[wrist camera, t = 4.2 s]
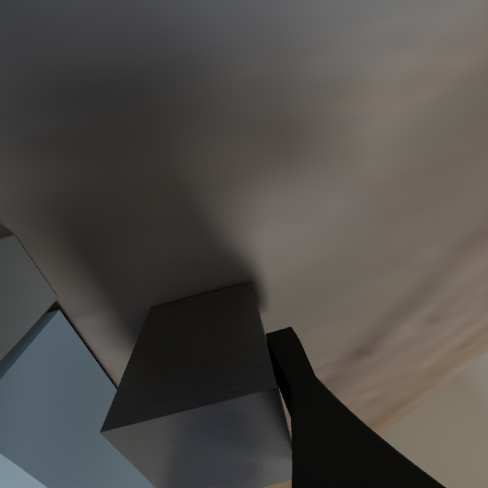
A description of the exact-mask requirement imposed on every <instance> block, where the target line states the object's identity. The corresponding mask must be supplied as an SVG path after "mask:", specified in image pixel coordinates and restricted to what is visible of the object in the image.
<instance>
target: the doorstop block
mask: <svg viewBox="0 0 488 488" xmlns="http://www.w3.org/2000/svg"><path fill="white" fill-rule="evenodd" d="M100 434H101V435H102V436H103V437H105V438H106V439H107V440H108V441H109V442H110V443H111V444H112V445H113V446H114V447H115V448H116V449H117V450H118V451H119V452H120V453H121V454H122V455H123V456H124V457H125V458H126V459H127V460H128V461H129V462H130V463H131V464H132V465H133V466H134V467H135V468H136V469H137V470H138V471H139V472H140V473H141V474H142V475H143V476H144V477H145V478H146V479H147V480H148V481H149V482H150V483H151V484H152V485H154V486H155V487H156V488H261V487H265V486H269V485H273V484H277V483H281V482H285V481H289V480H292V440H291V435H290V431H289V427H288V423H287V419H286V415H285V411H284V407H283V403H282V399H281V395H280V391H279V387H278V384H277V380H276V376H275V372H274V368H273V364H272V360H271V356H270V352H269V348H268V344H267V339H266V335H265V332H264V328H263V324H262V320H261V316H260V312H259V308H258V304H257V301H256V297H255V293H254V289H253V285H252V282H250V283H246V284H242V285H238V286H234V287H230V288H226V289H222V290H218V291H214V292H210V293H206V294H202V295H198V296H194V297H191V298H187V299H183V300H179V301H175V302H171V303H167V304H163V305H159V306H155V307H151V308H150V310H149V313H148V315H147V318H146V320H145V323H144V325H143V328H142V330H141V332H140V335H139V337H138V340H137V342H136V345H135V347H134V350H133V352H132V355H131V357H130V359H129V362H128V364H127V367H126V369H125V372H124V374H123V377H122V379H121V382H120V384H119V386H118V389H117V391H116V394H115V396H114V399H113V401H112V404H111V406H110V409H109V411H108V414H107V416H106V418H105V421H104V423H103V426H102V428H101V431H100Z"/></svg>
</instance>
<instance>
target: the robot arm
mask: <svg viewBox="0 0 488 488" xmlns="http://www.w3.org/2000/svg"><path fill="white" fill-rule="evenodd" d="M266 338H267V344H268V348H269V352H270V356H271V360H272V364H273V368H274V372H275V376H276V380H277V384H278V387H279V389H280V392H281V394H282V397H283V399H284V402H285V404H286V407H287V409H288V412H289V414H290V417H291V432H292V488H446V487H444V486H443V485H442V484H440V483H438V482H437V481H436V480H435V479H433V478H432V477H431V476H429V475H428V474H427V473H425V472H424V471H423V470H421V469H420V468H419V467H417V466H416V465H415V464H414V463H412V462H411V461H410V460H408V459H407V458H406V457H405V456H403V455H402V454H401V453H399V452H398V451H397V450H396V449H395V448H393V447H392V446H391V445H390V444H388V443H387V442H386V441H385V440H384V439H382V438H381V437H380V436H379V435H378V434H376V433H375V432H374V431H373V430H372V429H370V428H369V427H368V426H367V425H366V424H365V423H363V422H362V421H361V420H360V419H359V418H358V417H357V416H356V415H354V414H353V413H352V412H351V411H350V410H349V409H348V408H347V407H346V406H345V405H344V404H343V403H341V402H340V401H339V400H338V399H337V398H336V397H335V396H334V395H333V394H332V393H331V392H330V391H329V390H328V389H327V388H326V387H325V386H324V384H323V383H322V382H321V381H320V380H319V379H318V378H317V377H316V376H315V374H314V371H313V369H312V367H311V365H310V362H309V360H308V358H307V355H306V353H305V351H304V349H303V346H302V344H301V342H300V340H299V338H298V337H297V335H296V333H295V332H294V330H293V329H292V327H288V328H285V329H281V330H279V331H274V332H271V333H267V334H266Z"/></svg>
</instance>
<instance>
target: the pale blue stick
mask: <svg viewBox="0 0 488 488" xmlns="http://www.w3.org/2000/svg"><path fill="white" fill-rule="evenodd" d="M116 391H117V389H116V388H115V387H114V385H113V384H112V382H111V381H110V380H109V378H108V377H107V375H106V374H105V373H104V371H103V370H102V368H101V367H100V366H99V364H98V363H97V361H96V360H95V359H94V357H93V356H92V354H91V353H90V352H89V350H88V349H87V348H86V346H85V345H84V343H83V342H82V341H81V339H80V338H79V336H78V335H77V334H76V332H75V331H74V329H73V328H72V327H71V325H70V324H69V322H68V321H67V320H66V318H65V317H64V315H63V314H62V313H61V311H60V310H56V311H53V312H49V313H45V314H43V315H42V316H41V317H40V319H39V320H38V321H37V322H36V323H35V324H34V325H33V326H32V327H31V328H30V329H29V330H28V332H27V333H26V334H25V335H24V336H23V337H22V338H21V339H20V340H19V341H18V342H17V344H16V345H15V346H14V347H13V348H12V349H11V350H10V351H9V352H8V353H7V354H6V356H5V357H4V358H3V359H2V360H1V361H0V488H153V485H152V484H151V483H150V482H149V481H148V480H147V479H146V478H145V477H144V476H143V475H142V474H141V473H140V472H139V471H138V470H137V469H136V468H135V467H134V466H133V465H132V464H131V463H130V462H129V461H128V460H127V459H126V458H125V457H124V456H123V455H122V454H121V453H120V452H119V451H118V450H117V449H116V448H115V447H114V446H113V445H112V444H111V443H110V442H109V441H108V440H107V439H106V438H105V437H103V436H102V435H101V434H100V431H101V428H102V426H103V423H104V421H105V418H106V416H107V414H108V411H109V409H110V406H111V404H112V401H113V399H114V396H115V394H116Z"/></svg>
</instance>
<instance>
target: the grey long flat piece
mask: <svg viewBox="0 0 488 488" xmlns="http://www.w3.org/2000/svg"><path fill="white" fill-rule="evenodd" d="M57 299H58V297H57V295H56V294H55V293H54V291H53V290H52V288H51V287H50V285H49V284H48V282H47V281H46V280H45V278H44V277H43V275H42V274H41V272H40V271H39V270H38V268H37V267H36V265H35V264H34V262H33V261H32V260H31V258H30V257H29V255H28V254H27V252H26V251H25V249H24V248H23V247H22V245H21V244H20V242H19V241H18V239H17V238H16V237H15V235H11V236H6V237H2V238H0V361H1V360H2V359H3V358H4V357H5V356H6V354H7V353H8V352H9V351H10V350H11V349H12V348H13V347H14V346H15V345H16V344H17V342H18V341H19V340H20V339H21V338H22V337H23V336H24V335H25V334H26V333H27V332H28V330H29V329H30V328H31V327H32V326H33V325H34V324H35V323H36V322H37V321H38V320H39V319H40V317H41V316H42V315H43V314H44V313H45V312H46V311H47V310H48V309H49V308H50V307H51V305H52V304H53V303H54V302H55V301H56V300H57ZM153 488H156V487H155V486H154V485H153Z"/></svg>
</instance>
